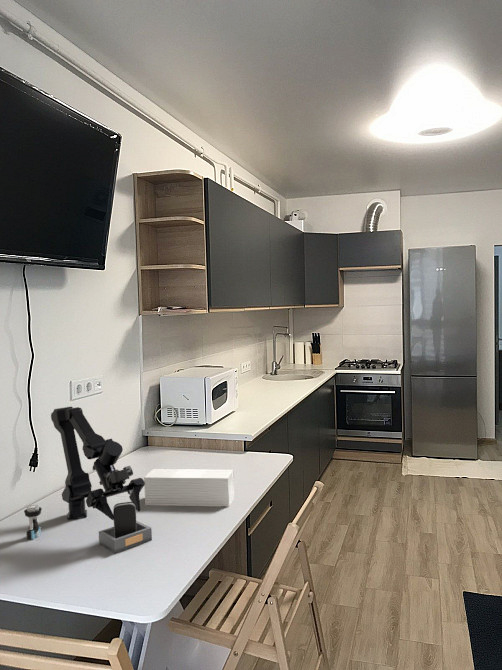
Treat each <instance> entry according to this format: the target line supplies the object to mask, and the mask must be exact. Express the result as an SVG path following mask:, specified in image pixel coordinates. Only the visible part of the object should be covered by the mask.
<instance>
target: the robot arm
mask: <svg viewBox="0 0 502 670" xmlns="http://www.w3.org/2000/svg"><path fill="white" fill-rule="evenodd" d="M50 418H51V422H52V423H53V427H54V429H56V431H58V433H60V437H61V443H62V447H63V448H62V449H63V452H64V459H65V464H66V468H67V469H66V470H67V475H66V478H65V480H64V485H65V487H64V489H63V491H62V493H61V498H62V501H64V502H66V503H67V505H68V512H67V520H73V519H81V518H87V516H88V510H87V509H86V506H87V507H88V508H92V509H96V510H97V511H99V512H101V513H102V514H104V515H105V516H107V518H109V519H110V520H111V521H114V515H113V510H112V509H111V507H110V504H109V502H108V499H107V498H110V497H112V496H116V495H120V494H124V493H127V494H128V495H129V496H128V498H129V500H130V502H132V503H134V505H135V508H136V512H138V513H140V511H141V503H140V492H141V491H142V490H143V489H144V485H145V482H144V478H142V477H138V478H134V479H131V480H130V481H129V483H128V484H126V482H127V481H126V480H129V479H130V477H131V476H133V475H134V471H133V469H132V467H131V465H127V466H124V467H123V468H122V469H120V470H119V469H116V467H115V464H116V463H117V462H118V460H119V458H120V456H121V455H122V453H123V446H122V444H121V443H119V442H117V441H114V440H113V438H108V439H105V438H104V437H103V436H102V435H100V434H98V433H96V432H95V430H94V428H92V426H91V424H90V423H89V421H88V420H87V418H86V416H85V415H84V412H83V409H82V408H81V407H73V406H66V407H60V408H54V409H53V412H51V414H50ZM75 432H76V433H77V435H78V436H79V439H80V440H81V442H82V444H83V445H82V451H83V454H84V457H85V458H87V460H94V462H93V464H92V471H95V472H96V473H97V476H98V478H99V485H100V486H102V487H103V488H97V489H94V490H92V485H93V484H92V482H91V479H90V474H89V472H86V471H85V470H83V467H82V462H81V458H80V454H79V448H78V442H77V438H76V433H75ZM125 484H126V485H125Z"/></svg>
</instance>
